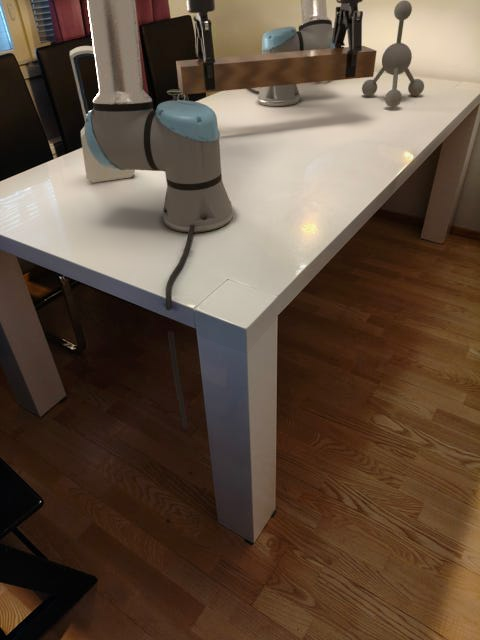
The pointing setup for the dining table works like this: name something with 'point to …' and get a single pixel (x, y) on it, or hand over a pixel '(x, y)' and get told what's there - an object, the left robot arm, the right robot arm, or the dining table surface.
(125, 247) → the dining table surface
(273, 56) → the wide beam
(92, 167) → the electronic device
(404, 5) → the molecular model
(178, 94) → the grenade
